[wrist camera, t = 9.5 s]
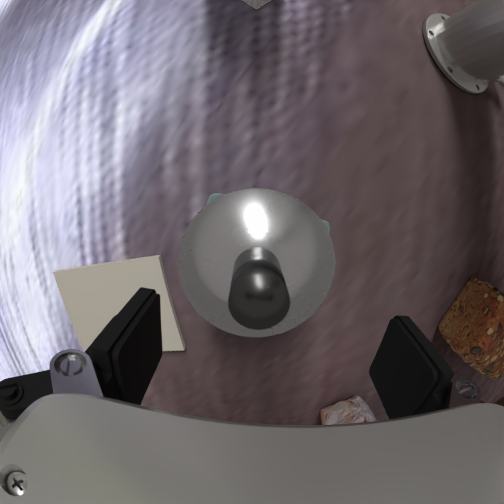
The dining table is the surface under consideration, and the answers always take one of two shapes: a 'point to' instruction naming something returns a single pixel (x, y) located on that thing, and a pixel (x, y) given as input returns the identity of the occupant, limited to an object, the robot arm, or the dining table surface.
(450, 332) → the bread
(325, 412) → the food item
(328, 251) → the lid
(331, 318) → the dining table surface
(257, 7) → the ink cartridge box
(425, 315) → the dining table surface
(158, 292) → the linen napkin
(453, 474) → the robot arm
